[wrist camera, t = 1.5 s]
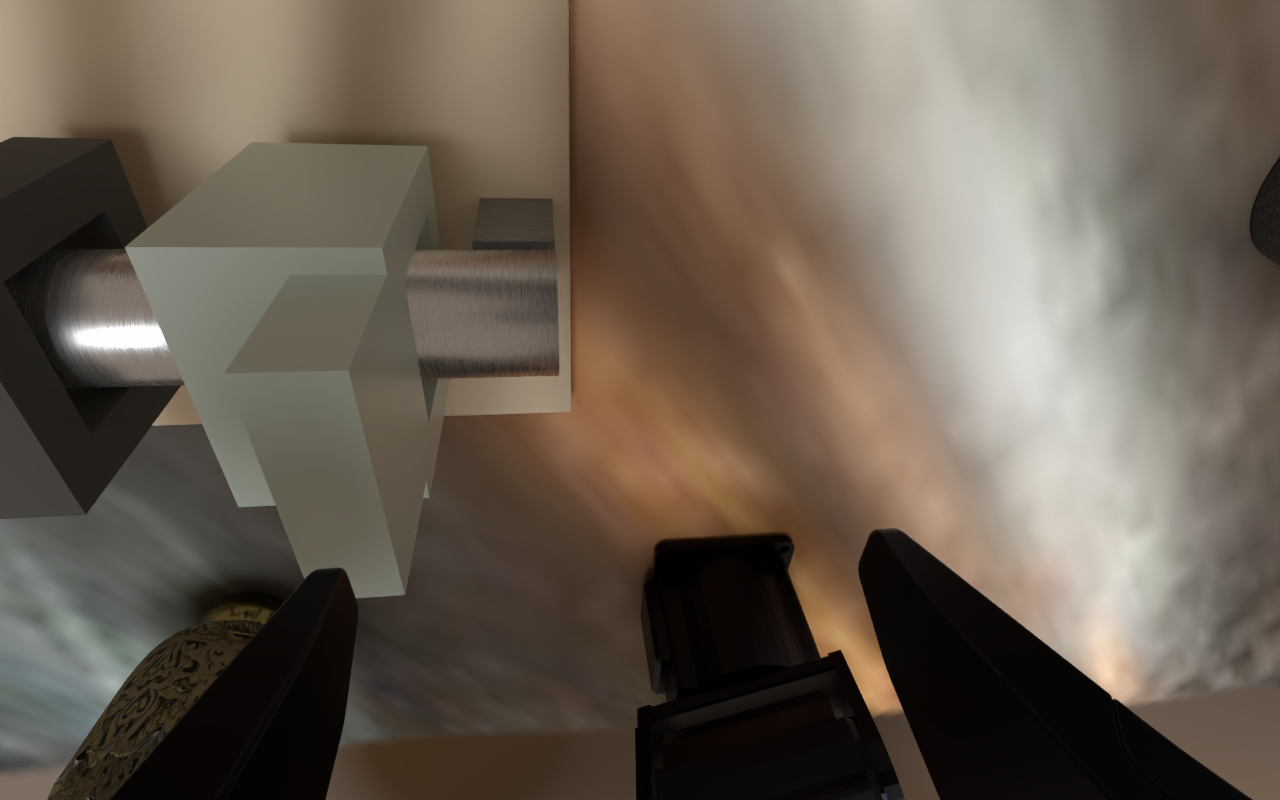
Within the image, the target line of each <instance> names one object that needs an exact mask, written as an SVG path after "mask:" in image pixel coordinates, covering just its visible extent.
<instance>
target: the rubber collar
mask: <svg viewBox="0 0 1280 800" xmlns="http://www.w3.org/2000/svg"><path fill="white" fill-rule="evenodd" d="M146 229H147V225H146V223H145V221H144V218H143V216H142V213H141V211H140V208H139V206H138V203H137V201H136V199H135V196H134V194H133V191H132V189H131V186H130V184H129V181H128V179H127V177H126V174H125V172H124V169H123V167H122V164H121V162H120V159H119V157H118V155H117V152H116V150H115V147H114V145H113V142H112V140H111V139H88V138H44V137H12V138H9V139H7V140H5V141H2V142H0V519H8V518H29V517H49V516H69V515H86V514H87V512H88V511H89V510H90V508H91V507H92V506H93V504H94V503H95V502H96V500H97V499H98V498H99V496H100V495H101V493H102V492H103V491H104V489H105V488H106V487H107V485H108V484H109V483H110V481H111V480H112V479H113V477H114V476H115V475H116V473H117V472H118V470H119V469H120V468H121V466H122V465H123V464H124V462H125V461H126V460H127V458H128V457H129V456H130V454H131V453H132V452H133V450H134V449H135V448H136V446H137V445H138V443H139V442H140V441H141V439H142V438H143V437H144V435H145V434H146V433H147V431H148V430H149V429H150V427H151V426H152V425H153V423H154V422H155V420H156V419H157V418H158V416H159V415H160V414H161V412H162V411H163V410H164V408H165V407H166V406H167V404H168V403H169V402H170V400H171V399H172V397H173V396H174V395H175V393H176V392H177V391H178V389H179V388H180V387H181V385H172V386H133V387H93V388H64V386H63V385H62V383H61V381H60V379H59V378H58V376H57V374H56V372H55V371H54V369H53V367H52V366H51V364H50V362H49V360H48V359H47V357H46V355H45V353H44V352H43V350H42V348H41V346H40V345H39V343H38V341H37V339H36V338H35V336H34V334H33V333H32V331H31V329H30V327H29V326H28V324H27V322H26V320H25V319H24V317H23V315H22V313H21V312H20V310H19V308H18V307H17V305H16V303H15V301H14V300H13V298H12V296H11V294H10V293H9V291H8V289H7V287H6V286H5V284H4V281H5V280H7V279H8V278H10V277H11V276H12V275H14V274H15V273H17V272H18V271H19V270H21V269H22V268H24V267H25V266H27V265H28V264H29V263H31V262H32V261H34V260H35V259H37V258H38V257H39V256H41V255H42V254H44V253H45V252H46V251H48V250H49V249H125V247H126V246H127V245H128V244H129V243H130V242H132V241H133V240H134V239H135V238H136V237H138V236H139V235H140V234H141V233H142V232H144V231H145V230H146Z"/></svg>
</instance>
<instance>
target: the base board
mask: <svg viewBox="0 0 1280 800" xmlns="http://www.w3.org/2000/svg"><path fill="white" fill-rule="evenodd" d="M12 137H44V138H88V139H111V140H112V142H113V145H114V147H115V150H116V152H117V155H118V157H119V159H120V162H121V164H122V167H123V169H124V172H125V174H126V177H127V179H128V181H129V184H130V186H131V189H132V191H133V194H134V196H135V199H136V201H137V203H138V206H139V208H140V211H141V213H142V216H143V218H144V221H145V223H146V225H147V228H148V227H150V226H151V225H152V224H153V223H155V222H156V221H157V220H158V219H159V218H161V217H162V216H163V215H164V214H165V213H167V212H168V211H169V210H170V209H171V208H173V207H174V206H175V205H176V204H177V203H179V202H180V201H181V200H182V199H184V198H185V197H186V196H187V195H188V194H190V193H191V192H192V191H193V190H194V189H196V188H197V187H198V186H199V185H200V184H202V183H203V182H204V181H205V180H206V179H208V178H209V177H210V176H211V175H213V174H214V173H215V172H216V171H217V170H219V169H220V168H221V167H222V166H223V165H225V164H226V163H227V162H228V161H229V160H231V159H232V158H233V157H234V156H236V155H237V154H238V153H239V152H240V151H242V150H243V149H244V148H245V147H246V146H248V145H249V144H250V143H251V142H267V143H311V144H356V145H401V146H428V153H429V161H430V168H431V176H432V183H433V191H434V199H435V206H436V214H437V221H438V229H439V237H440V244H441V250H473V246H472V239H473V233H474V228H475V223H476V217H477V212H478V207H479V201H480V198H539V199H552V206H553V222H554V239H555V250H556V264H557V290H558V323H559V376H531V377H492V378H452V379H450V384H449V390H448V395H447V401H446V407H445V412H444V416H460V415H491V414H521V413H552V412H571V323H570V161H569V0H0V142H2V141H5V140H7V139H9V138H12ZM185 424H202V422H201V420H200V418H199V416H198V413H197V411H196V409H195V406H194V404H193V402H192V400H191V397H190V395H189V393H188V390H187V388H186V386H185V385H181V387H180V388H179V389H178V391H177V392H176V393H175V395H174V396H173V397H172V399H171V400H170V402H169V403H168V404H167V406H166V407H165V408H164V410H163V411H162V412H161V414H160V415H159V416H158V418H157V419H156V420H155V422H154V423H153V425H152V426H154V425H185Z"/></svg>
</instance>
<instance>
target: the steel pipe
mask: <svg viewBox="0 0 1280 800" xmlns="http://www.w3.org/2000/svg"><path fill="white" fill-rule="evenodd" d="M472 246H473V250H414V253H413V256H412V259H411V262H410V265H409V268H408V270H407V273H406V276H405V279H404V282H405V288H406V293H407V299H408V305H409V311H410V317H411V322H412V328H413V334H414V340H415V346H416V351H417V357H418V363H419V369H420V374H421V379H452V378H492V377H531V376H559V323H558V290H557V264H556V250H555V239H554V222H553V206H552V199H539V198H480V201H479V207H478V212H477V217H476V223H475V228H474V233H473V239H472ZM4 284H5V286H6V287H7V289H8V291H9V293H10V294H11V296H12V298H13V300H14V301H15V303H16V305H17V307H18V308H19V310H20V312H21V313H22V315H23V317H24V319H25V320H26V322H27V324H28V326H29V327H30V329H31V331H32V333H33V334H34V336H35V338H36V339H37V341H38V343H39V345H40V346H41V348H42V350H43V352H44V353H45V355H46V357H47V359H48V360H49V362H50V364H51V366H52V367H53V369H54V371H55V372H56V374H57V376H58V378H59V379H60V381H61V383H62V385H63V386H64V388H93V387H133V386H172V385H185V384H184V381H183V379H182V377H181V374H180V372H179V370H178V368H177V365H176V363H175V361H174V359H173V356H172V354H171V352H170V349H169V347H168V345H167V343H166V340H165V338H164V336H163V333H162V331H161V329H160V327H159V324H158V322H157V320H156V318H155V315H154V313H153V311H152V308H151V306H150V304H149V302H148V299H147V297H146V295H145V292H144V290H143V288H142V286H141V283H140V281H139V279H138V276H137V274H136V272H135V270H134V267H133V265H132V263H131V261H130V258H129V256H128V254H127V251H126V249H49V250H48V251H46V252H45V253H44V254H42V255H41V256H39V257H38V258H37V259H35V260H34V261H32V262H31V263H29V264H28V265H27V266H25V267H24V268H22V269H21V270H19V271H18V272H17V273H15V274H14V275H12V276H11V277H10V278H8V279H7V280H5V281H4Z"/></svg>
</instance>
